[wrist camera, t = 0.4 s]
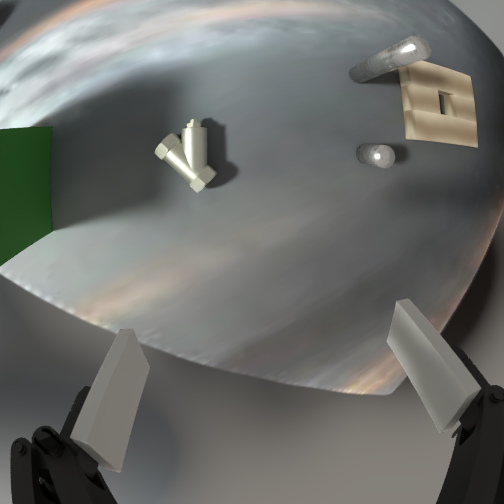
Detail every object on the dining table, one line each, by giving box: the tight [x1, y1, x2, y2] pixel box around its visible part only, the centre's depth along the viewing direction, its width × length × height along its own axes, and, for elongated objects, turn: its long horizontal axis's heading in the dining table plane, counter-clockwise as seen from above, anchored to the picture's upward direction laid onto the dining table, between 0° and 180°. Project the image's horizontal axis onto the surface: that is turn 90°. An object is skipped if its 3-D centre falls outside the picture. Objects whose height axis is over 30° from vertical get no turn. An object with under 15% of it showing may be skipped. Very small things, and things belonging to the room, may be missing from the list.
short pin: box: [356, 144, 395, 169], centre depth 32 cm, size 3×3×6 cm
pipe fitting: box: [155, 119, 217, 193], centre depth 32 cm, size 8×4×7 cm
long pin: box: [349, 35, 431, 83], centre depth 23 cm, size 3×3×16 cm
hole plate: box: [398, 61, 478, 147], centre depth 30 cm, size 13×15×3 cm
